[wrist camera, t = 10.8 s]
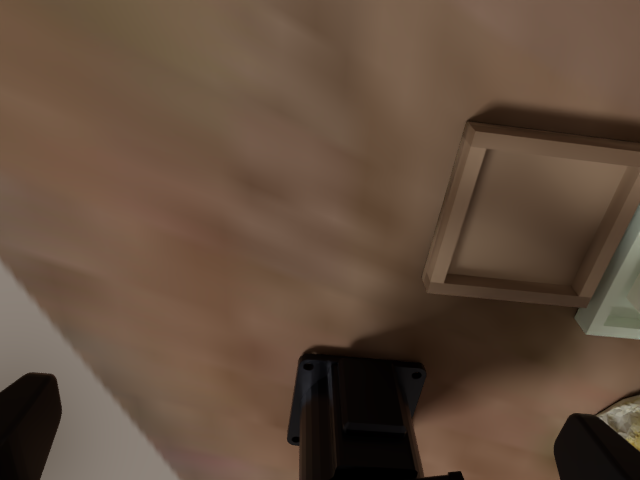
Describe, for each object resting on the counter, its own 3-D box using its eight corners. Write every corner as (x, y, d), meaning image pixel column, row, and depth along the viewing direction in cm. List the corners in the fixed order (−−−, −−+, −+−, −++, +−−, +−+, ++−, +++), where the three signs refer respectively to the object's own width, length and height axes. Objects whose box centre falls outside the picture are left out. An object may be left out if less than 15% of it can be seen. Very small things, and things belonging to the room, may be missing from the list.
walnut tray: (574, 292, 24) (586, 308, 23) (421, 277, 24) (426, 293, 22) (645, 143, 20) (663, 154, 19) (466, 120, 20) (475, 131, 19)
